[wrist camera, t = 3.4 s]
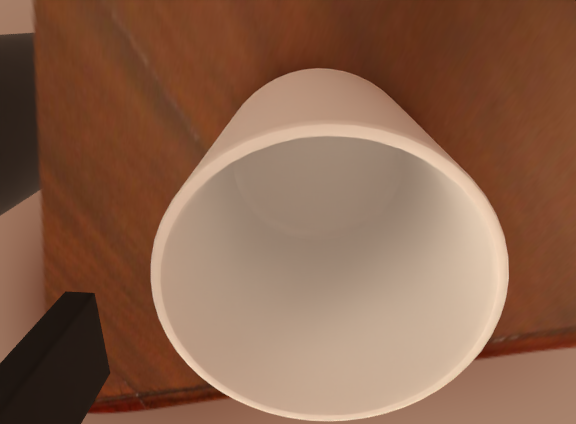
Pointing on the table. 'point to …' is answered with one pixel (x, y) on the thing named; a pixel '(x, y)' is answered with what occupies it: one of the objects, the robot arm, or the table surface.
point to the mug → (328, 255)
